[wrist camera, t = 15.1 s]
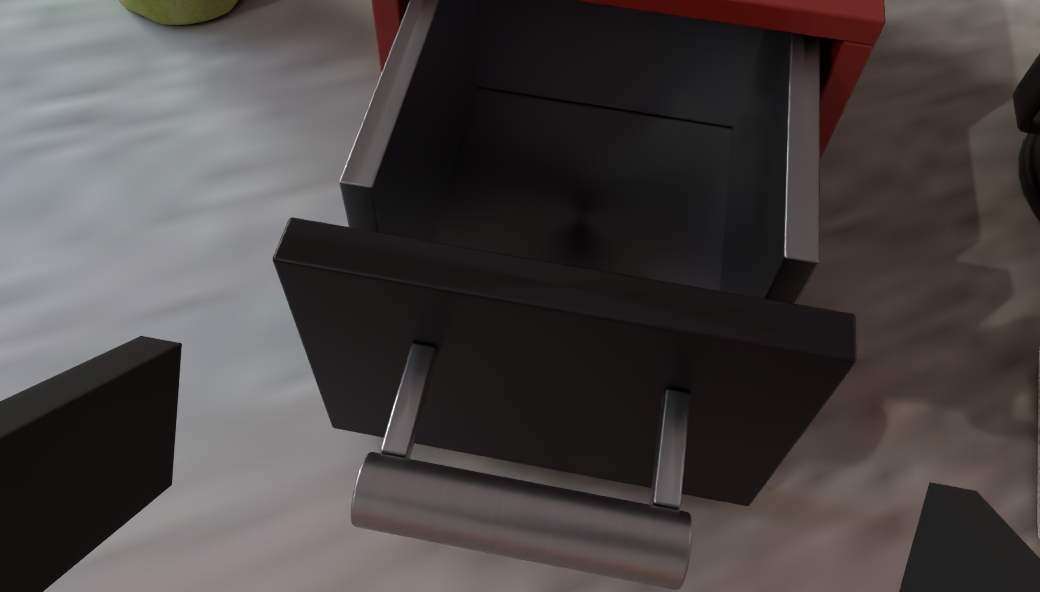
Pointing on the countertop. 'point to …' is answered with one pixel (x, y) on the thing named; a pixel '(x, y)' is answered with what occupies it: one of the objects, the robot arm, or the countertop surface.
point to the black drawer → (573, 276)
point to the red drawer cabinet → (755, 3)
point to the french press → (1029, 134)
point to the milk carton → (1039, 451)
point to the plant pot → (179, 10)
